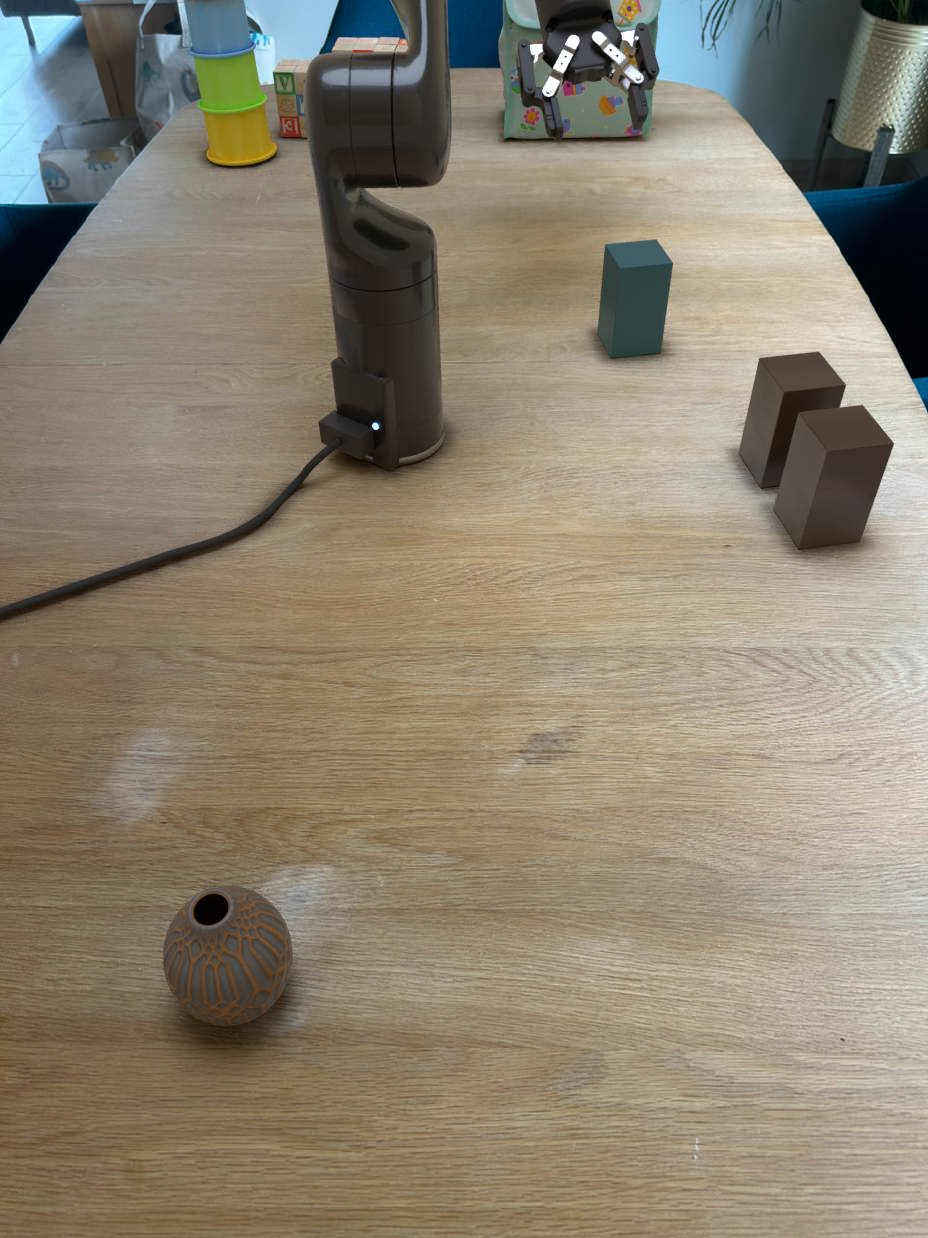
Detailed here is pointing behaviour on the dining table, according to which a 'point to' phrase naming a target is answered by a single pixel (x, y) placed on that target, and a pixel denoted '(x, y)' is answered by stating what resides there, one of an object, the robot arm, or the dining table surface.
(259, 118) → the stacking cups
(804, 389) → the walnut block middle
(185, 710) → the dining table surface
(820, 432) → the walnut block front
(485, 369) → the dining table surface
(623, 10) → the lunch bag
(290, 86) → the stack of blocks
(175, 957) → the vase
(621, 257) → the teal block
